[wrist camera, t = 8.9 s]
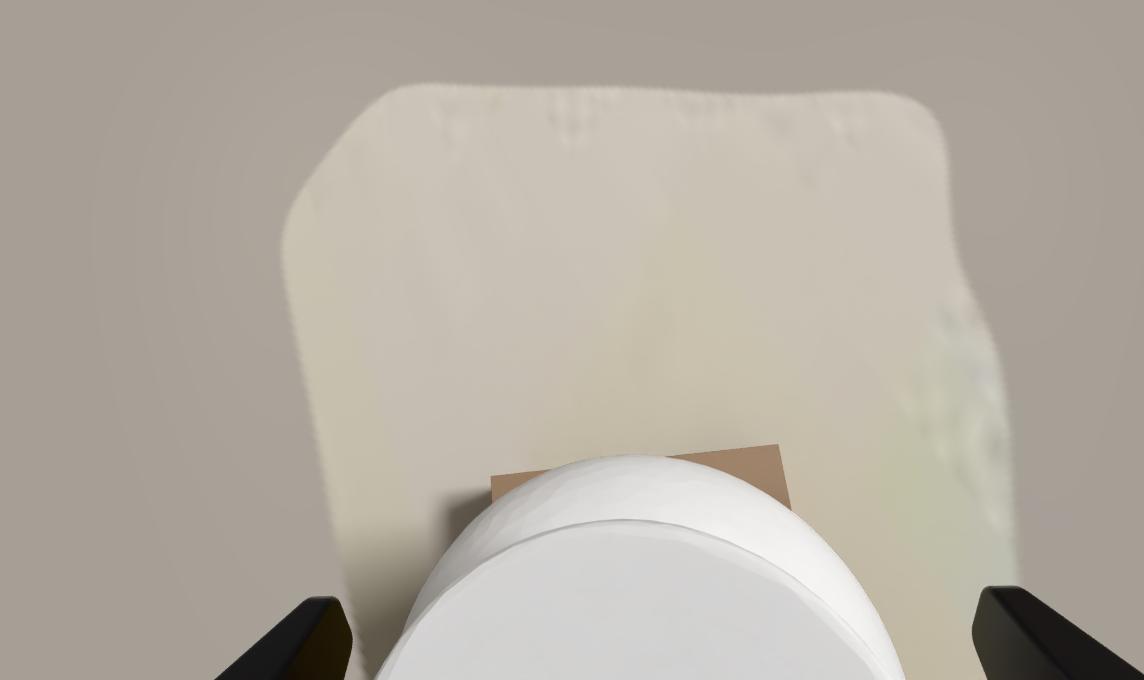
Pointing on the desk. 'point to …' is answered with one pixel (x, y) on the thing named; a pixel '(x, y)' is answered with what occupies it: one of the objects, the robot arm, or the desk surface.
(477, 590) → the supplement bottle
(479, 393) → the desk surface
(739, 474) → the walnut plinth
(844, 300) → the desk surface
